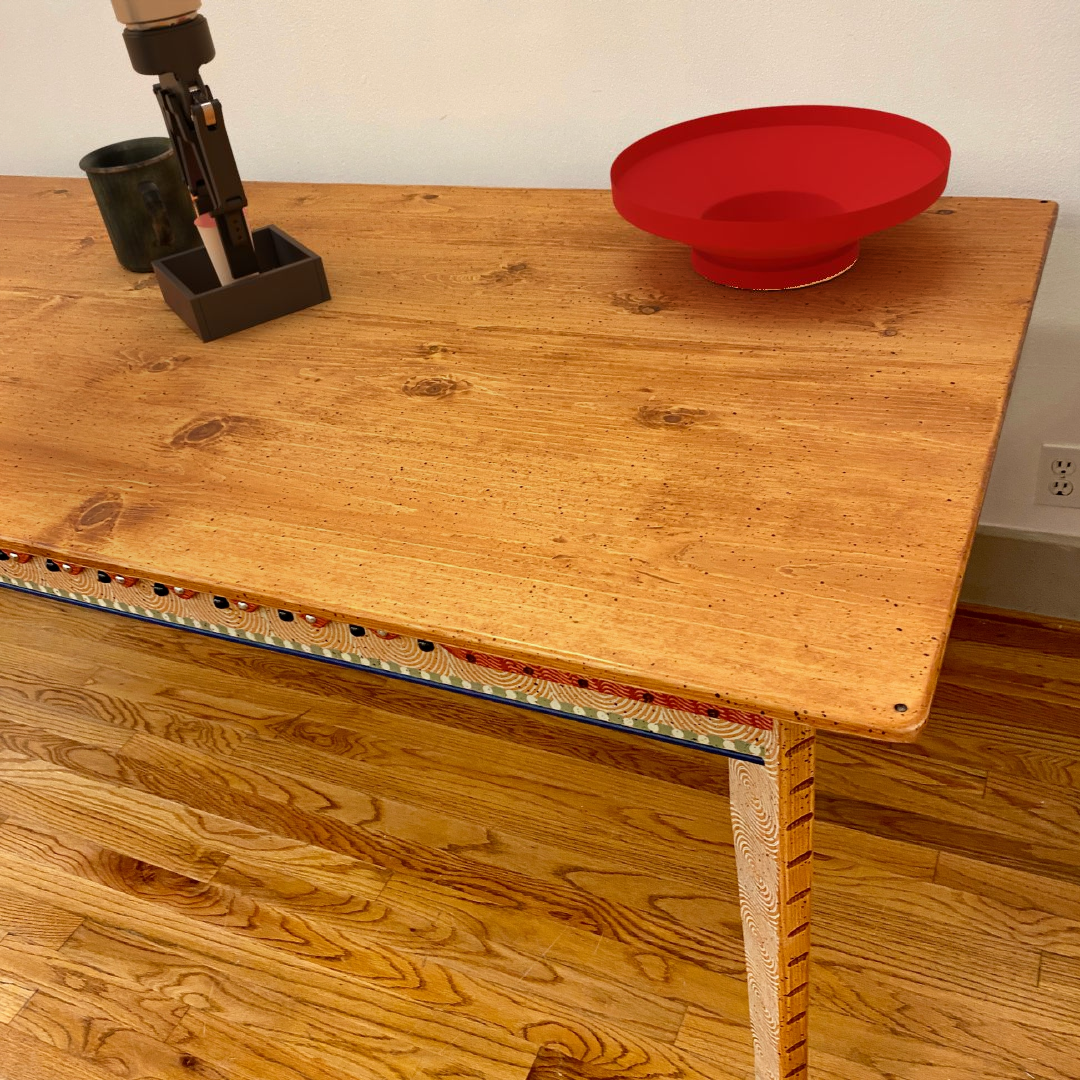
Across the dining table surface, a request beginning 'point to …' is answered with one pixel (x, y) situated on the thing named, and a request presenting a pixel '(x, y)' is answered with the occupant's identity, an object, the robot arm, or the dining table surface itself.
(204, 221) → the cup
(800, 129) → the bowl
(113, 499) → the dining table surface
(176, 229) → the mug
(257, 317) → the dark brown open box
